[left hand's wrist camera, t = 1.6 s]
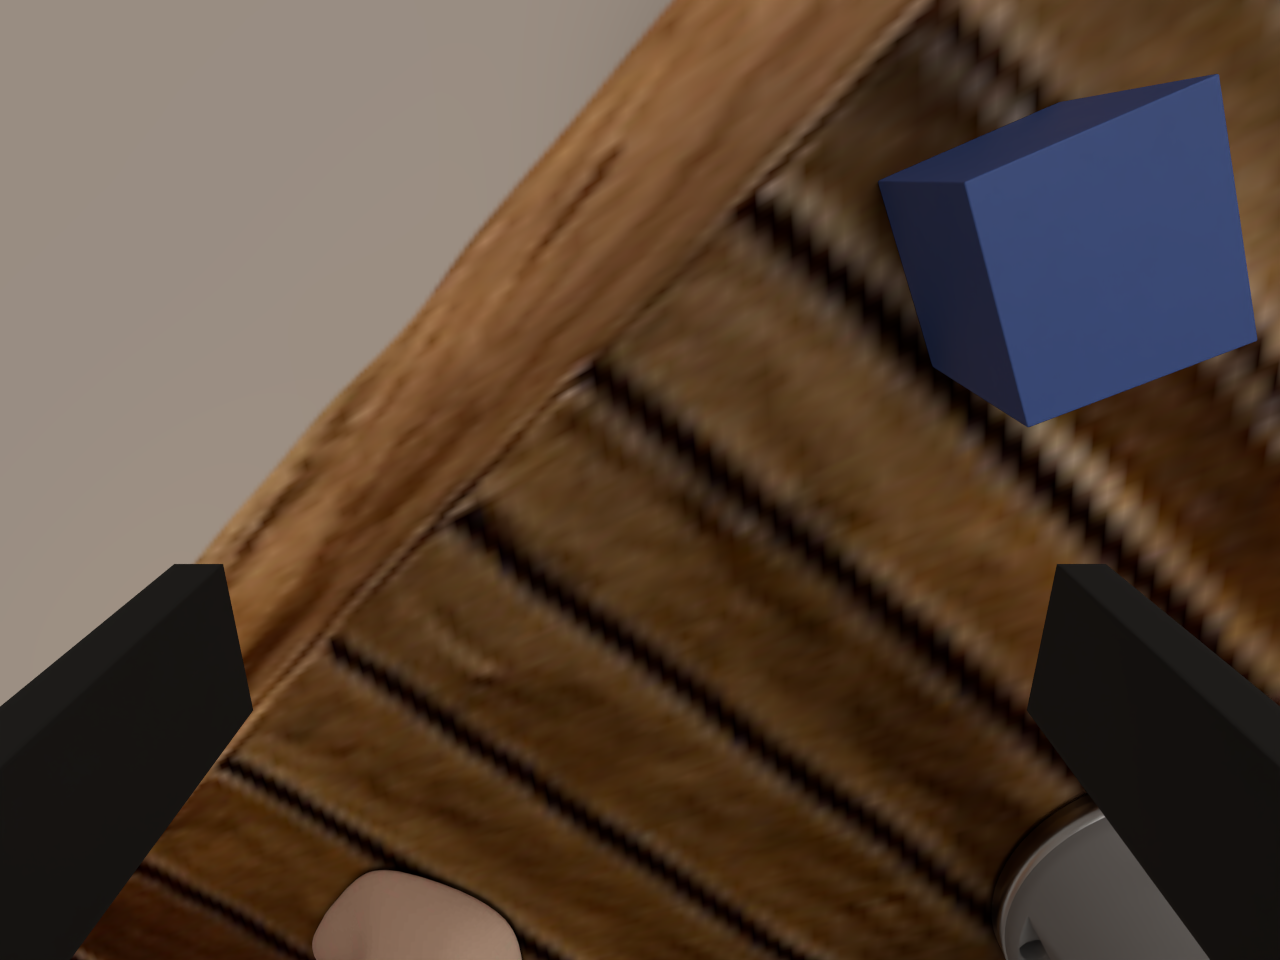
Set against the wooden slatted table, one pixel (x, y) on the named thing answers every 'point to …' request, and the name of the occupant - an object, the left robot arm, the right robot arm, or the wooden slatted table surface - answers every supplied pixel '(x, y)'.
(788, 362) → the wooden slatted table surface
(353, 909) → the anatomical model
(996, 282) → the block
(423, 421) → the wooden slatted table surface
